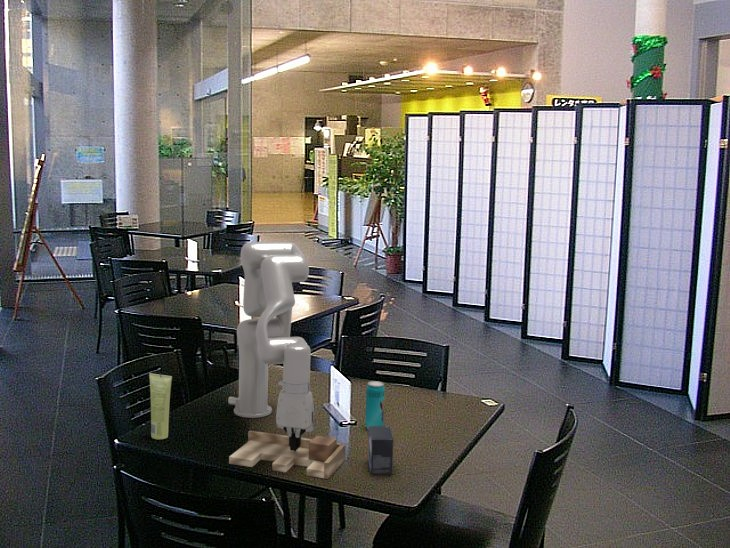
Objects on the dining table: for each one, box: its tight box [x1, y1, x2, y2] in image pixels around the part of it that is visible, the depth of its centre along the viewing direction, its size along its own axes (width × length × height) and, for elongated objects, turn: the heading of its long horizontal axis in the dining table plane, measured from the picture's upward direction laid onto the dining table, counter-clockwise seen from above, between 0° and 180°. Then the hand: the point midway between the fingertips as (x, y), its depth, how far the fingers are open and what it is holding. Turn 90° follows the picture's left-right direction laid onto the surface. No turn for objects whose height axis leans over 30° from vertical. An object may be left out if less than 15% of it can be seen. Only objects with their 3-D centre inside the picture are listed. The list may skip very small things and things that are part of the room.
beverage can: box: [365, 380, 386, 431], centre depth 258 cm, size 6×6×15 cm
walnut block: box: [308, 435, 338, 462], centre depth 228 cm, size 6×6×5 cm
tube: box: [148, 372, 173, 440], centre depth 244 cm, size 6×5×20 cm
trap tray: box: [228, 430, 347, 480], centre depth 230 cm, size 30×15×4 cm, turn 74°
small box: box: [367, 425, 395, 476], centre depth 228 cm, size 11×6×10 cm, turn 5°
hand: (294, 449), depth 232 cm, fingers closed
